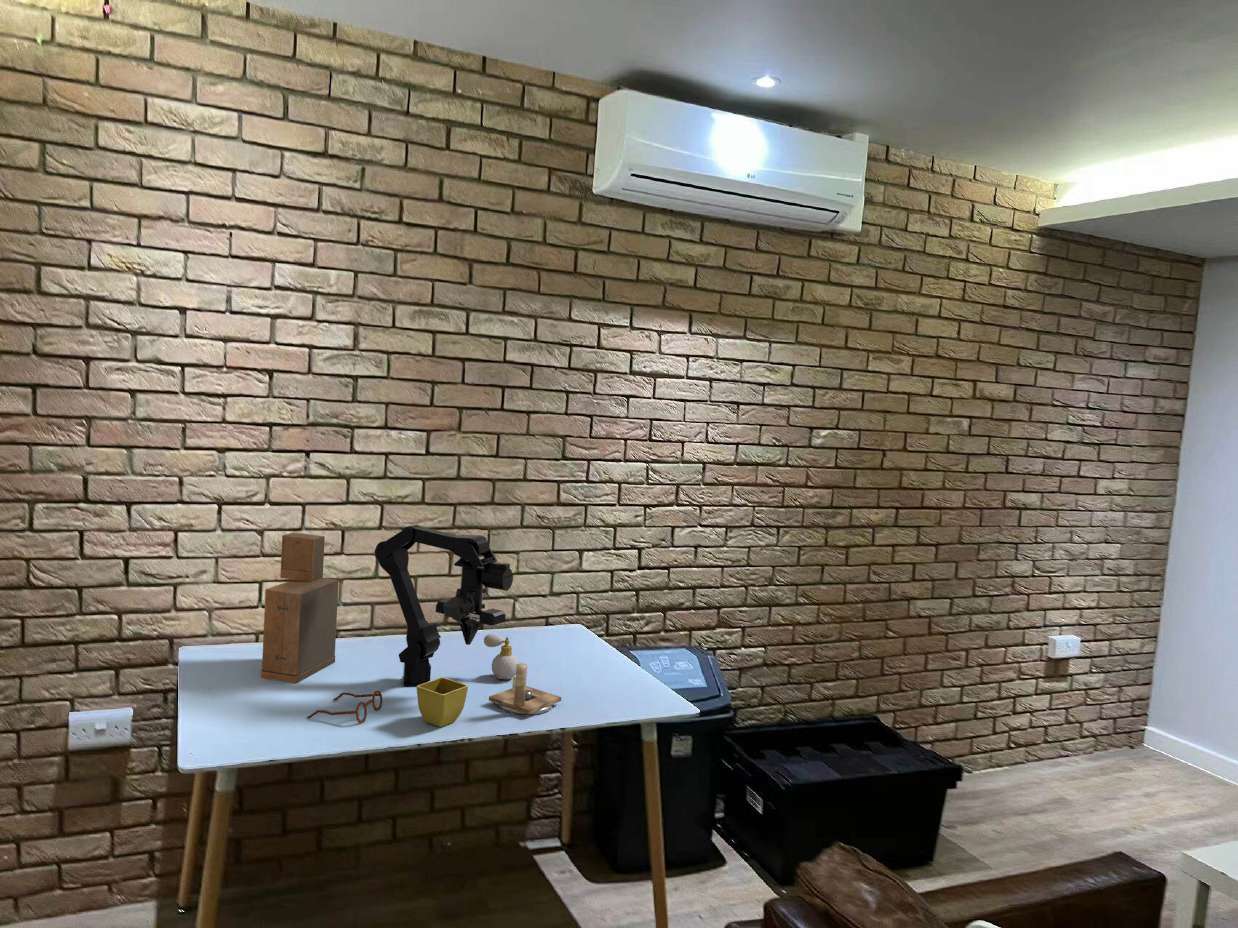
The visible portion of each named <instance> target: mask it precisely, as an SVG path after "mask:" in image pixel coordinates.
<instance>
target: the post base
mask: <svg viewBox="0 0 1238 928" xmlns="http://www.w3.org/2000/svg"><path fill="white" fill-rule="evenodd" d="M515 681H516V676H514V677H513V678H512V685H511V686H512V688H514V687H515ZM531 696H532V691H530V690H525V701H529V700H531ZM496 705H498V706H497V707H499V708H501V709H502V710H501V709H500V710H501V711H503V710H504V711H503V712H505V711H506V712H505V713H507V712H508V714H511V713H513V714H512V715H516V714H517V715H516V716H537V715H538V716H539V715H543V714H546V713H549V712H550V711H551V710H552V709H553V707H554V704H552V705H550V706H548V707H545V708H543V709H540V710H538V711H535V712H533V713H531V714H527V713H524V712H521V711H518V710H515V709H512V708H509V707H506V706H503V705H500V704H497V703H496ZM499 708H498V709H499ZM549 710H550V711H549Z"/></svg>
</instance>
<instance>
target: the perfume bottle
mask: <svg viewBox="0 0 1238 928" xmlns="http://www.w3.org/2000/svg"><path fill="white" fill-rule="evenodd" d="M510 643H511V641H510V640H509V637H508V636H506V637H505V640H504V639H503V638H502V637H500V636H499V635H497V634H493V633H489V634H487V635H485V636H484V638H483V644H484V645H485V646H486V647H488V648H496V647H498V646H500V648H501V649H500V652H499V653H498V654H497V655H496V656H494V658H493V659H492V661H491V671H492V674H493V675H494V676H495V677H496V678H497V679H499V680H505V681H507V680H510V679H513V677H516V667H517V664H520V663H519V660H518V658H517V656H516V655H514V654H513V651H512V650H513V646H512V645H509V644H510ZM502 644H503V645H502Z"/></svg>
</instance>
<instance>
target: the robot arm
mask: <svg viewBox="0 0 1238 928" xmlns="http://www.w3.org/2000/svg"><path fill="white" fill-rule="evenodd" d="M416 543H417V544H423V545H426V546H429V547H434V548H437V549H438V548H439V549H441V550H446V551H450V552H452V553H453V555H455V556H457V557H459V559H458V560H457V561H456V562H454V566H455V567H460V568H461V572H460V573H461V574H460V576H461V577H460V587H459V588H456V589H457V590H456V592H455V596H453V597H451V598H445V599H443V600H438V601H437V603H436V604H435V613H437V614H438V613H439V614H442V615H444V616H445V617H446V618H451V619H453V620H454V621H456V622H457V624H459V627H460V630H461V634H462V636H463V640H464V643H465V645H467V646H469V645H471V644H472V642H473V641H474V638H475V636H476V635H477V633H478V631H479V630H480V627H481V626H482V625H486V626H496V625H499V624H501V623H505V622H506V613H505V611H504V610H501V609H495V608H489V609H486V610H483V609H485V608H486V603H483V597H484V596H483V595H484V594H485V593H487V589H492V590H493V589H494V590H499V591H503V592H504V591H505V592H507V591H510V589H511V587H512V585H513V583H514V582H513V581H514V575H513V571H512V569H511V564H510V563H507V562H503V563H502V562H498V560H497V559H496V557H495V555H494V553H493V551H492V549H491V548H490V544H489V540H487V538H486V536H484V535H481V534H454V533H449V532H445V531H442V530H437V529H433V528H428V527H425V526H421V525H419V524H414V525H413V524H412V525H408V526H405V527H404V528H403V529H402V530H401V531H399V532H398V533H396V534H394V535H393V536H391V537H390V538H388V539H387V540H383V541H380V542H379V543H377V544H376V546H375V549H374V555H375V558H376V560H377V562H378V564H379V566H380V567H381V569H382V570H383V571H385V572H386V573H387V574H388V576H389V578H390V581H391V584H392V586H393V589H394V592H395V595H396V598H397V600H398V603H399V607H400V609H401V612H402V614H403V618H404V620H405V623H406V626H407V627H406V628H407V629H406V637H405V639H406V645H407V647H406V648H404V649H403V650H402V651H401V652H400V653H398V659H399V662H400V663H403V673H402V677H401V679H402V680H401V681H402V686H403V687H417V686H418V685H420V684H423V683H427V682H430V681H431V675H432V674H431V673H432V671H431V670H432V666H431V663H430V658H433V657H434V654H435V652H437V651H438V650H439V647H440V646H441V640H440V638H441V637H442V636H441V635H440V634H439V631H438V627H437V624H436V623H432V624H431V623H429V621H428V620H426V618H425V615H424V612H423V609H422V607H421V606H422V605H421V604H420V601H419V598H418V595H417V593H416V589H415V587H414V583H413V581H412V580H413V579H412V578H411V575H410V572H409V569H408V567H409V559H410V558H409V557H410V556H409V550H410V549H412V548H413V546H415V545H416ZM484 587H485V588H484Z"/></svg>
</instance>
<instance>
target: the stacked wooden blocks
mask: <svg viewBox="0 0 1238 928" xmlns="http://www.w3.org/2000/svg"><path fill="white" fill-rule="evenodd" d="M325 536H326V535H325ZM325 536H324V535H317V534H309V533H308V534H307V533H299V532H290V533H287V534H282V535H281V552H280V553H281V555H280V557H281V558H280V559H281V560H280V576H279V577H280V578H281V579H286V580H287V579H288V580H289V581H286V582H283V583H280V584H277V585H275V586H271V587H268V588H265V589H264V590H265V591H264V593H265V595H264V596H265V597H264V615H263V616H264V617H263V635H262V636H263V640H262V657H261V658H262V659H261V671H260V679H265V680H266V679H267V680H272V681H279V682H285V683H291V684H299V683H300V682H302V681H304V680H306V679H308V678H310V677H311V676H312V675H313V676H314V675H315V674H316V673H318V672H320V671H322V670H323V669H326V668H328V667H329V666H331V665H333V664H335V663H336V637H337V620H338V617H337V616H338V601H339V600H338V599H339V585H340V584H339V583H340V582H339V579H334V578H327V577H324V562H325V560H324V559H325V544H326V543H325V541H326V540H325V538H326V537H325Z"/></svg>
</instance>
